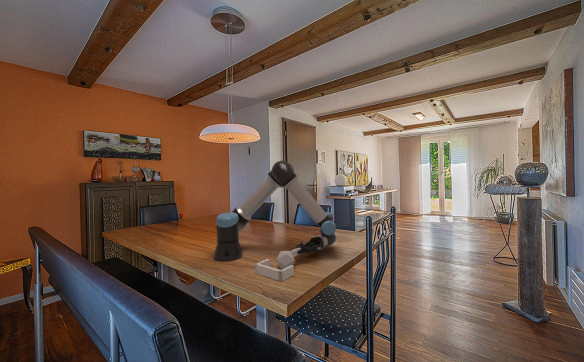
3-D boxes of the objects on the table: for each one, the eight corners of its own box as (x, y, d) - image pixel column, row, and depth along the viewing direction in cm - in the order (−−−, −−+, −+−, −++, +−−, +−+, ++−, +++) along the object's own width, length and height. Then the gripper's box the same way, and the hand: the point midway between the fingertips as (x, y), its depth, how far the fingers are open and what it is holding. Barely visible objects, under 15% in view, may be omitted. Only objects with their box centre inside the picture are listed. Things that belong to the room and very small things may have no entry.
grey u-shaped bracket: (254, 272, 111) (254, 264, 111) (267, 267, 118) (267, 258, 118) (281, 281, 101) (281, 272, 101) (294, 274, 108) (293, 265, 108)
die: (287, 274, 110) (298, 255, 112) (271, 264, 112) (282, 245, 114) (288, 274, 118) (298, 256, 120) (273, 264, 119) (283, 246, 122)
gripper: (328, 251, 133) (303, 264, 114) (308, 247, 141) (281, 259, 122) (328, 237, 133) (302, 248, 114) (308, 234, 141) (281, 244, 122)
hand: (292, 254), depth 118 cm, fingers closed
